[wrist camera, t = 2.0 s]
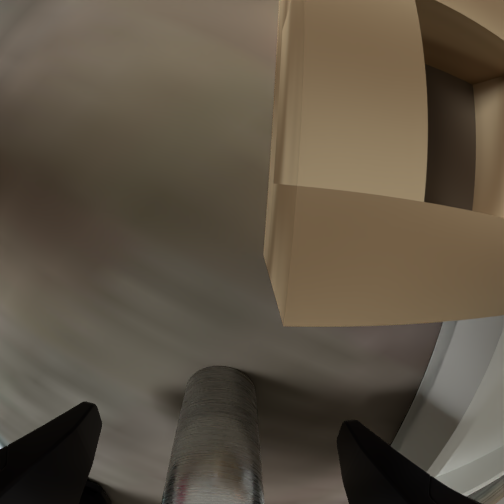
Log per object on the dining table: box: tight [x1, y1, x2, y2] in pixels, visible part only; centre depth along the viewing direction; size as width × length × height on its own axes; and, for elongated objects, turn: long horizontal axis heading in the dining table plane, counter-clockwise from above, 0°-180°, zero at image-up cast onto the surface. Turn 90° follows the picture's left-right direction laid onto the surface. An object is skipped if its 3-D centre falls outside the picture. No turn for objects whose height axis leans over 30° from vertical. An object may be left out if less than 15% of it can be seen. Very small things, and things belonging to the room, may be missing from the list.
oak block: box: [263, 0, 504, 327], centre depth 6 cm, size 8×8×4 cm
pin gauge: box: [161, 366, 264, 504], centre depth 6 cm, size 2×2×8 cm
